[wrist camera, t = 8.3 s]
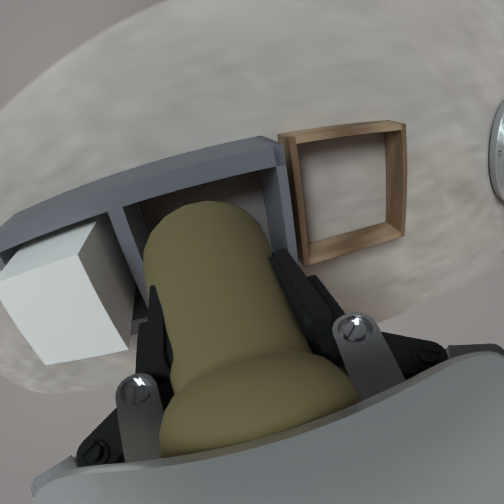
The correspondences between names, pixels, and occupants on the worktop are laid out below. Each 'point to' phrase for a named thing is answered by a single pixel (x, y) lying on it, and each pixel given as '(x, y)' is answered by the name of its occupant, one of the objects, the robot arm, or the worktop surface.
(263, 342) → the cork
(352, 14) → the worktop surface
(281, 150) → the grey divided tray
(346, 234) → the wooden square frame
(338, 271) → the worktop surface
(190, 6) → the worktop surface
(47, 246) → the white block
